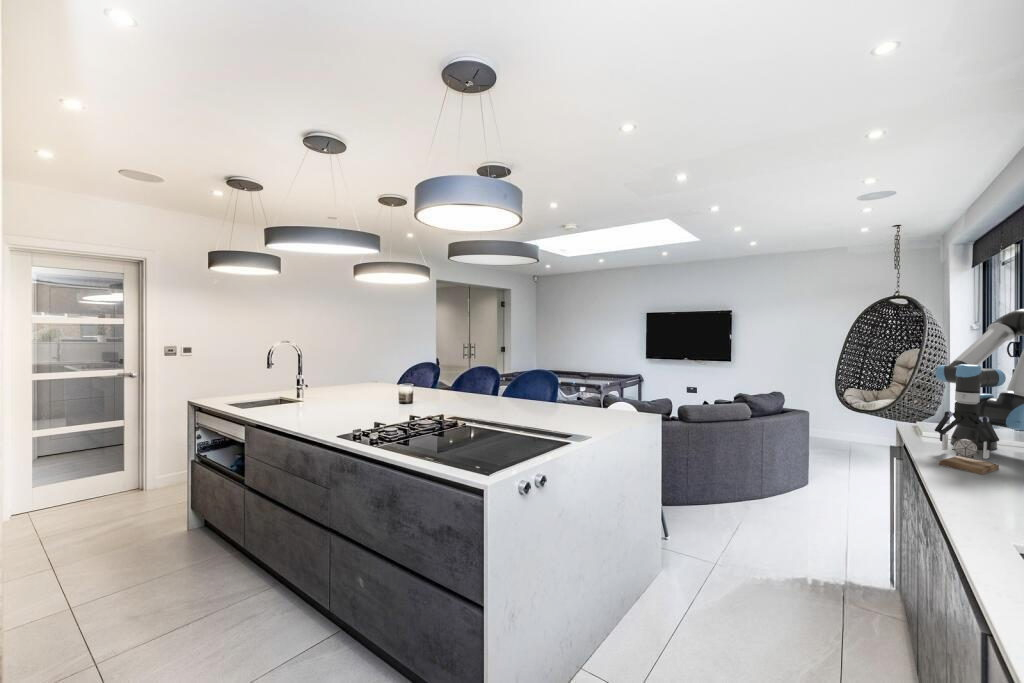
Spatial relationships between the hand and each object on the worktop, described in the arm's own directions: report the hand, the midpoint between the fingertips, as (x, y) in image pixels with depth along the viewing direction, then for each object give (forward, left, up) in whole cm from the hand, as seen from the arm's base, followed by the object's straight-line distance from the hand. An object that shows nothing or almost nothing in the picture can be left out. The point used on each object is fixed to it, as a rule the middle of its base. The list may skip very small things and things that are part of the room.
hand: (964, 453), depth 204 cm
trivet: (+14, +7, -2) cm, 16 cm away
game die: (0, 0, -2) cm, 2 cm away
